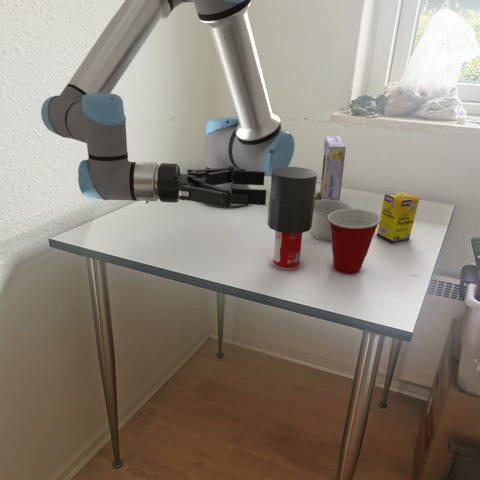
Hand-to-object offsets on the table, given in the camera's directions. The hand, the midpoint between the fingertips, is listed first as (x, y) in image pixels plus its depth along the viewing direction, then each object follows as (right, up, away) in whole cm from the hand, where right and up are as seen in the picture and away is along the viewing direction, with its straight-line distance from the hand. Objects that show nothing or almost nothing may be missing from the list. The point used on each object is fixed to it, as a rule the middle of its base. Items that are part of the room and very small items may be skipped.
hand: (265, 187), depth 95 cm
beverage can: (+5, -15, +9) cm, 18 cm away
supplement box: (+34, -6, +25) cm, 43 cm away
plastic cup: (+18, -16, +8) cm, 25 cm away
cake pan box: (+22, +10, +51) cm, 56 cm away
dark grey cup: (+5, -7, +4) cm, 10 cm away
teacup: (+15, -6, +25) cm, 30 cm away
